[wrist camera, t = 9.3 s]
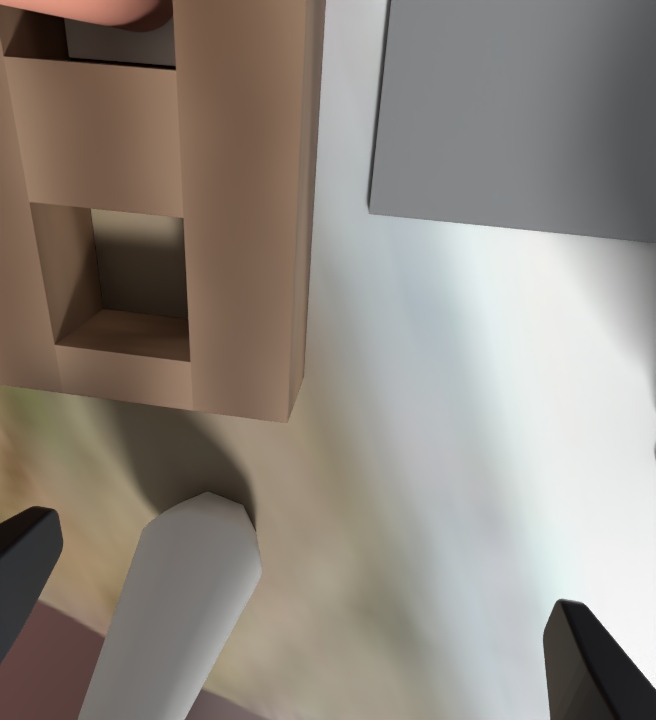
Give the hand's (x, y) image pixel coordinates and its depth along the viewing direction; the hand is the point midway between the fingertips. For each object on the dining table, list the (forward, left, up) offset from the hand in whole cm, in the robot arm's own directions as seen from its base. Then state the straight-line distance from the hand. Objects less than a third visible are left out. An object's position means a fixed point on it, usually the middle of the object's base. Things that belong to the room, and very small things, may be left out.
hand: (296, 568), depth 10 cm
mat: (-5, -9, -13) cm, 16 cm away
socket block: (+8, -6, -13) cm, 16 cm away
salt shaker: (+6, +12, -13) cm, 19 cm away
